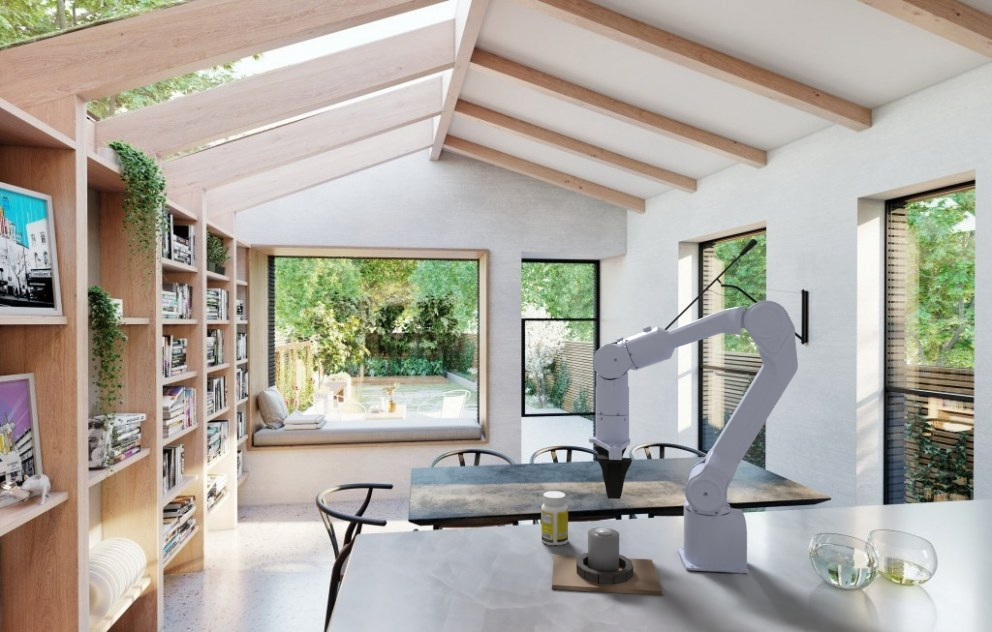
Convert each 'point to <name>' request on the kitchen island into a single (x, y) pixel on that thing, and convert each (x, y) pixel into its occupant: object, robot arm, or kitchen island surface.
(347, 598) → the kitchen island surface
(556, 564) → the ring board
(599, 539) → the cap
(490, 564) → the kitchen island surface
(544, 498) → the supplement bottle
